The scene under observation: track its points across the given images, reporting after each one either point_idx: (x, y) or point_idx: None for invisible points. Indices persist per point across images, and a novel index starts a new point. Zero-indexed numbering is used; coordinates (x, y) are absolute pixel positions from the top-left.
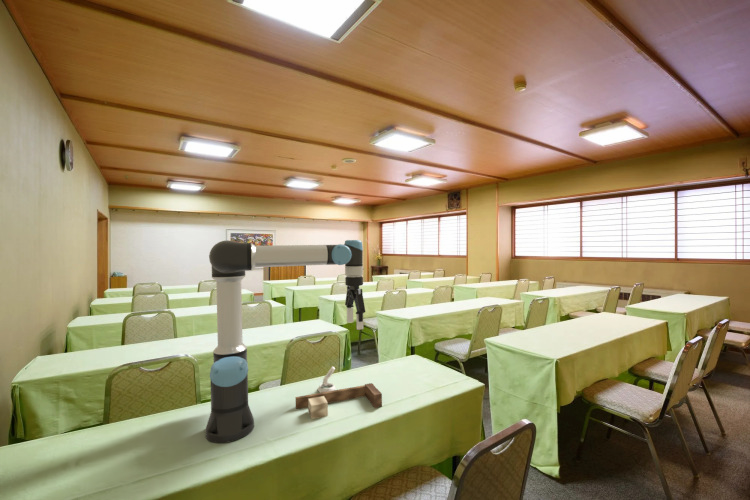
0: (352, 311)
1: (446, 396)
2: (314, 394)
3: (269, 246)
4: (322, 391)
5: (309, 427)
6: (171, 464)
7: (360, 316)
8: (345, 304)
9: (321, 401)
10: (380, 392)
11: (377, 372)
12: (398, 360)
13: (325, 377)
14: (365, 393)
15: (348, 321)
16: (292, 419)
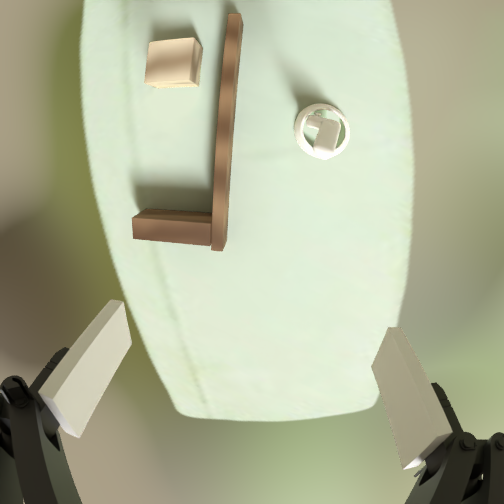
0: (398, 436)
1: (151, 357)
2: (230, 60)
3: None
4: (303, 109)
5: (131, 46)
6: None
7: (41, 384)
8: (498, 441)
9: (158, 68)
10: (141, 239)
11: (350, 312)
12: None
13: (325, 123)
14: (211, 215)
15: (388, 341)
16: (183, 14)
